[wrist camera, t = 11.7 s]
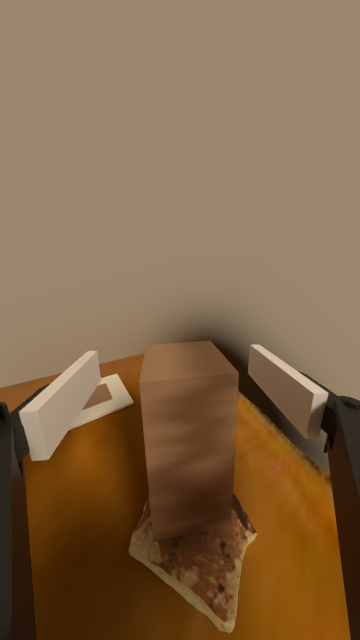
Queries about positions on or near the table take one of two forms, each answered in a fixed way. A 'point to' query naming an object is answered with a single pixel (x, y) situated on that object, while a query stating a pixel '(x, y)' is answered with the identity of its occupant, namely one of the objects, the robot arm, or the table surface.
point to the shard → (199, 563)
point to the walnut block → (188, 437)
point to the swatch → (104, 400)
